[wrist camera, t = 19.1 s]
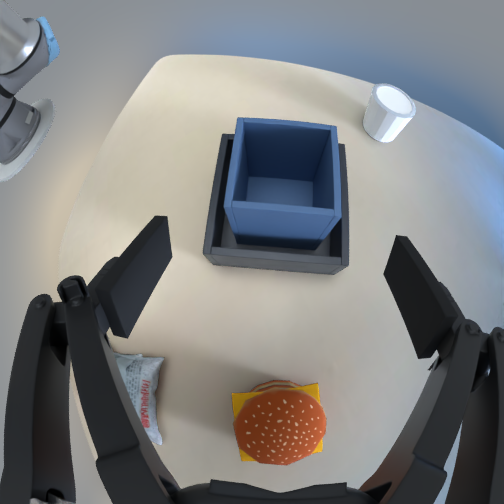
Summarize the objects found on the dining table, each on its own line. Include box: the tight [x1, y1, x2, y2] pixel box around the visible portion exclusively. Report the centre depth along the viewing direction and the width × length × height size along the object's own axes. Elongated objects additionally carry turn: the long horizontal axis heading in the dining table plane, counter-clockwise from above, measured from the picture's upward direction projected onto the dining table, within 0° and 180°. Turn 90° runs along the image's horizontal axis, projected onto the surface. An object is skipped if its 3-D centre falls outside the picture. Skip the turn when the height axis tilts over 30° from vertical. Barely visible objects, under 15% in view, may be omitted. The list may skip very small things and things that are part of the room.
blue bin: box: [224, 117, 341, 250], centre depth 26 cm, size 9×9×11 cm
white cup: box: [363, 83, 416, 142], centre depth 32 cm, size 7×7×7 cm
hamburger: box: [232, 380, 326, 465], centre depth 24 cm, size 9×10×7 cm
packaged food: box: [113, 352, 164, 445], centre depth 26 cm, size 9×12×5 cm
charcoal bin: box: [203, 134, 349, 275], centre depth 30 cm, size 14×14×6 cm
